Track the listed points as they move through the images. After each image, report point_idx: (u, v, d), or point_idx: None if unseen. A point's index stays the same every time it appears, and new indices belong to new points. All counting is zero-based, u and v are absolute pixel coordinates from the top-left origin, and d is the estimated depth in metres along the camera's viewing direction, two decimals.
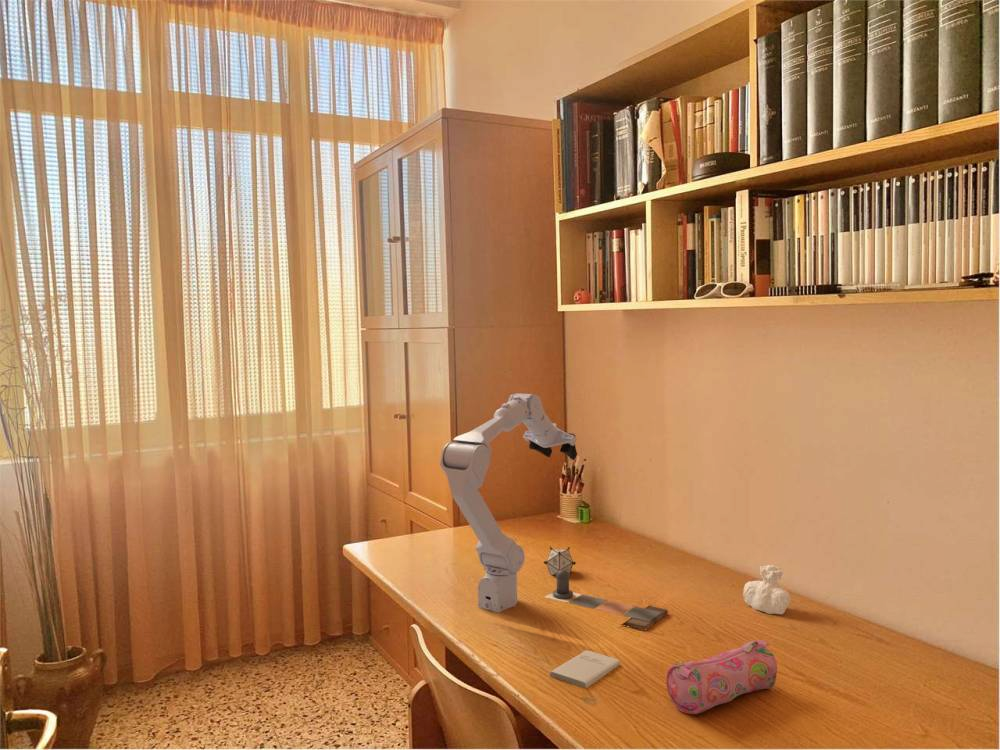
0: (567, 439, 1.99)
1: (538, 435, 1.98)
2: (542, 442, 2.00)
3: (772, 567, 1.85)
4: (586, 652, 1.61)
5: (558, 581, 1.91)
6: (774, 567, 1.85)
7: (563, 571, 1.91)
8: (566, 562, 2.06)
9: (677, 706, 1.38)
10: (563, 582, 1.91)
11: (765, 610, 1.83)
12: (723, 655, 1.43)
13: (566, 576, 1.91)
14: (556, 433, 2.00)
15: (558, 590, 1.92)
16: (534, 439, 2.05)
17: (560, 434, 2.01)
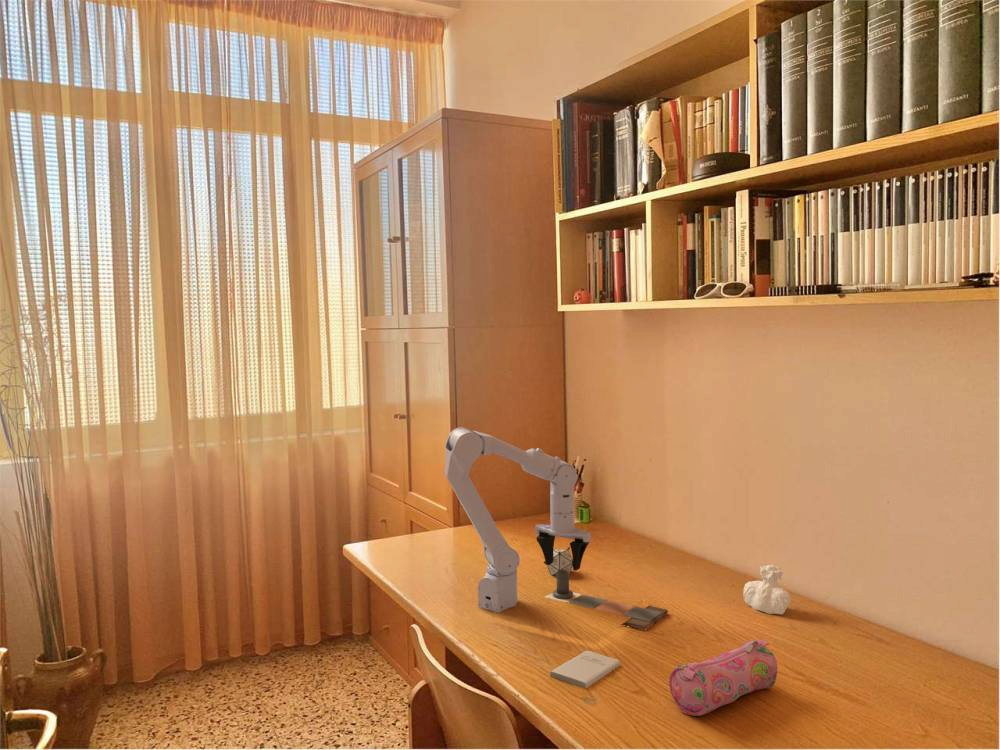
0: (582, 534, 1.88)
1: (558, 513, 1.88)
2: (557, 526, 1.89)
3: (772, 567, 1.85)
4: (586, 652, 1.60)
5: (558, 581, 1.91)
6: (774, 567, 1.85)
7: (563, 571, 1.91)
8: (566, 562, 2.06)
9: (681, 708, 1.38)
10: (563, 582, 1.91)
11: (765, 610, 1.83)
12: (725, 656, 1.42)
13: (566, 576, 1.91)
14: (573, 526, 1.90)
15: (558, 590, 1.92)
16: None
17: None
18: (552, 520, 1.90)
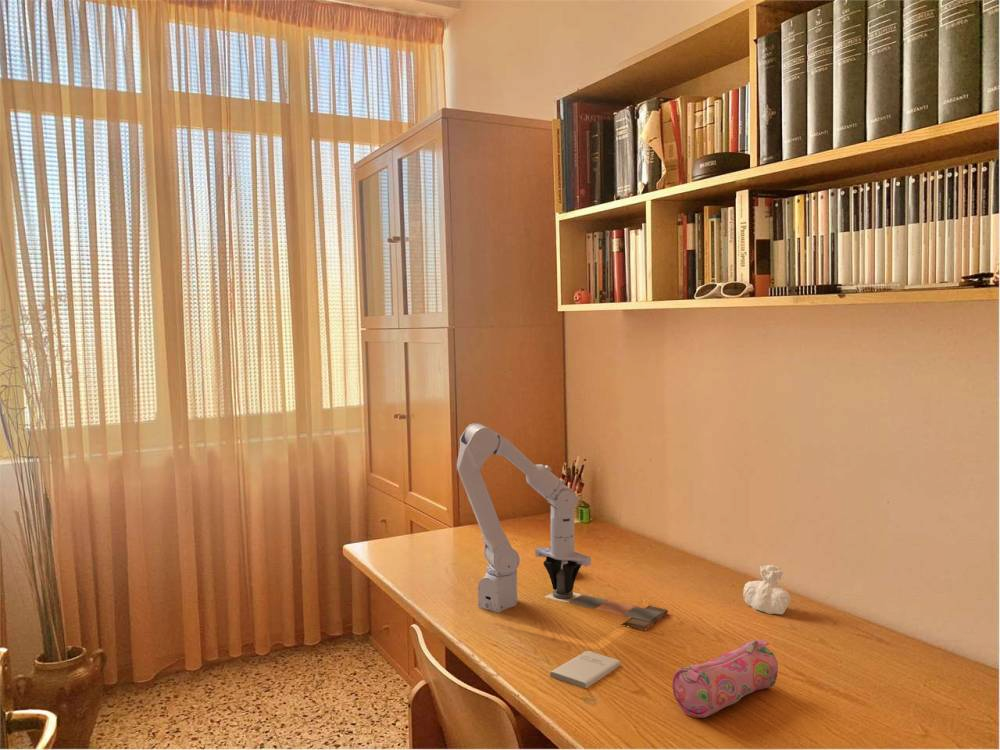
0: (582, 558, 1.88)
1: (558, 537, 1.89)
2: (557, 550, 1.89)
3: (772, 567, 1.85)
4: (587, 652, 1.60)
5: (558, 581, 1.91)
6: (774, 567, 1.85)
7: (563, 571, 1.91)
8: (566, 562, 2.06)
9: (684, 710, 1.37)
10: (563, 582, 1.91)
11: (765, 610, 1.83)
12: (726, 656, 1.42)
13: None
14: (573, 550, 1.91)
15: (558, 590, 1.92)
16: None
17: (576, 555, 1.91)
18: (552, 544, 1.90)
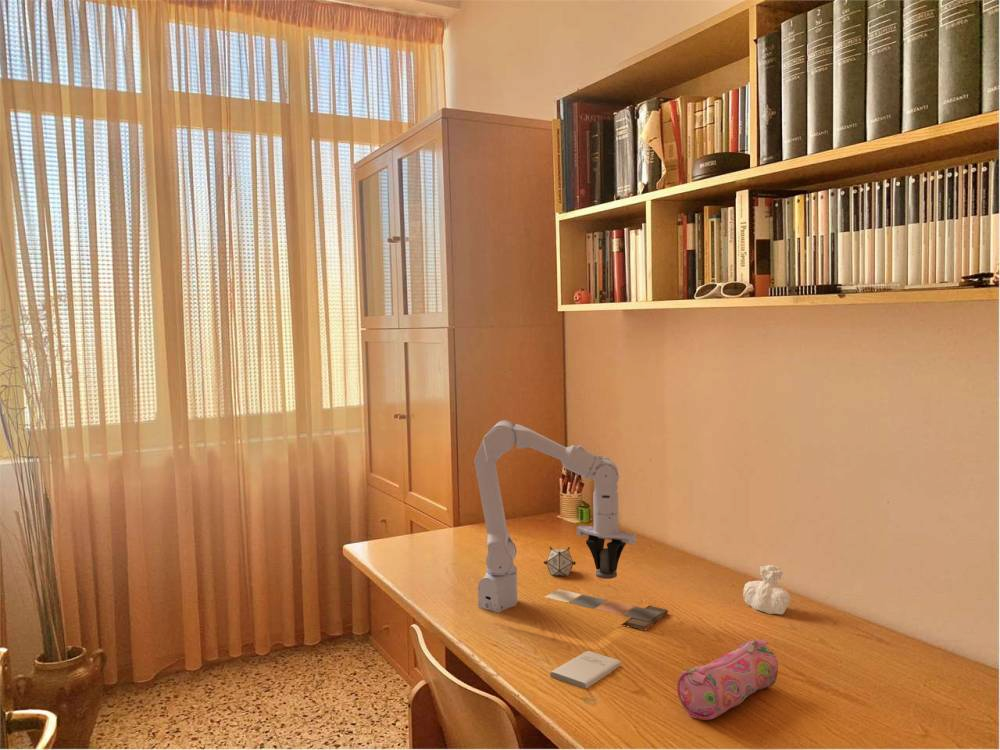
0: (628, 536, 1.81)
1: (602, 514, 1.82)
2: (601, 527, 1.82)
3: (772, 567, 1.85)
4: (587, 653, 1.60)
5: (601, 560, 1.84)
6: (774, 567, 1.85)
7: (607, 550, 1.84)
8: (566, 562, 2.06)
9: (690, 713, 1.36)
10: (607, 561, 1.84)
11: (765, 610, 1.83)
12: (729, 657, 1.42)
13: None
14: (617, 527, 1.83)
15: (602, 569, 1.84)
16: None
17: None
18: (596, 521, 1.83)
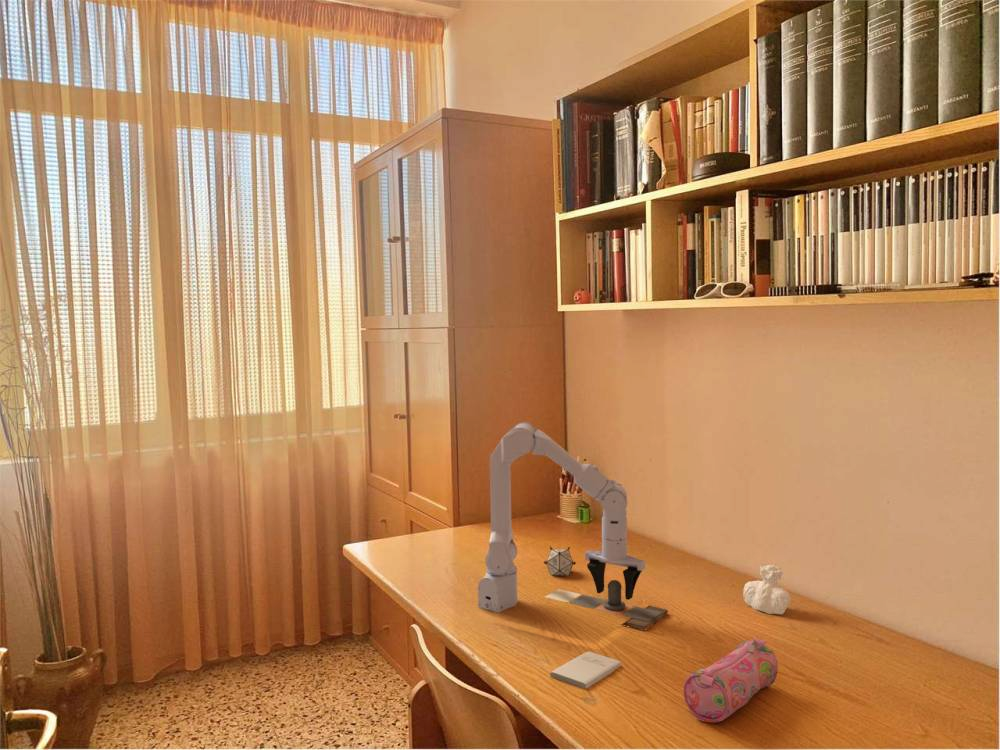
0: (636, 562, 1.80)
1: (611, 540, 1.81)
2: (609, 553, 1.81)
3: (772, 567, 1.85)
4: (587, 653, 1.60)
5: (610, 592, 1.83)
6: (774, 567, 1.85)
7: (615, 582, 1.83)
8: (566, 562, 2.06)
9: (697, 716, 1.35)
10: (615, 593, 1.83)
11: (765, 610, 1.83)
12: (731, 658, 1.41)
13: (619, 587, 1.83)
14: (626, 553, 1.82)
15: (610, 601, 1.83)
16: None
17: (628, 559, 1.83)
18: (604, 547, 1.82)
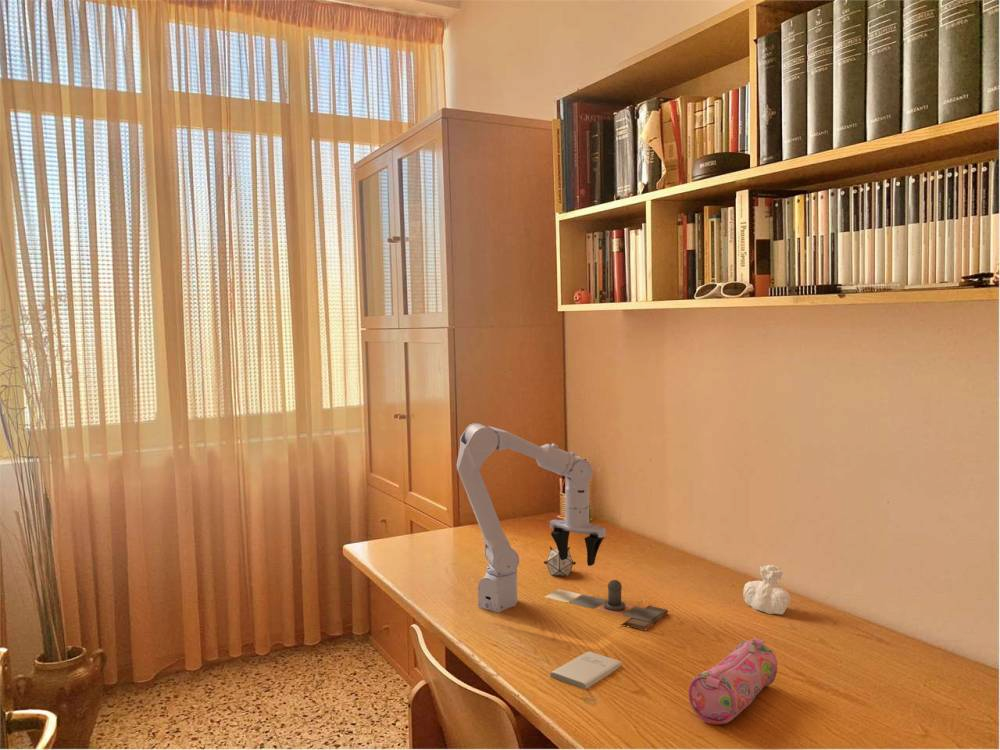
0: None
1: (573, 508, 1.89)
2: (571, 521, 1.89)
3: (772, 567, 1.85)
4: (588, 653, 1.60)
5: (610, 592, 1.83)
6: (774, 567, 1.85)
7: (615, 582, 1.83)
8: (566, 562, 2.06)
9: (703, 718, 1.34)
10: (615, 593, 1.83)
11: (765, 610, 1.83)
12: (733, 659, 1.41)
13: (619, 587, 1.83)
14: (588, 521, 1.91)
15: (610, 601, 1.83)
16: None
17: (590, 527, 1.91)
18: (567, 515, 1.90)
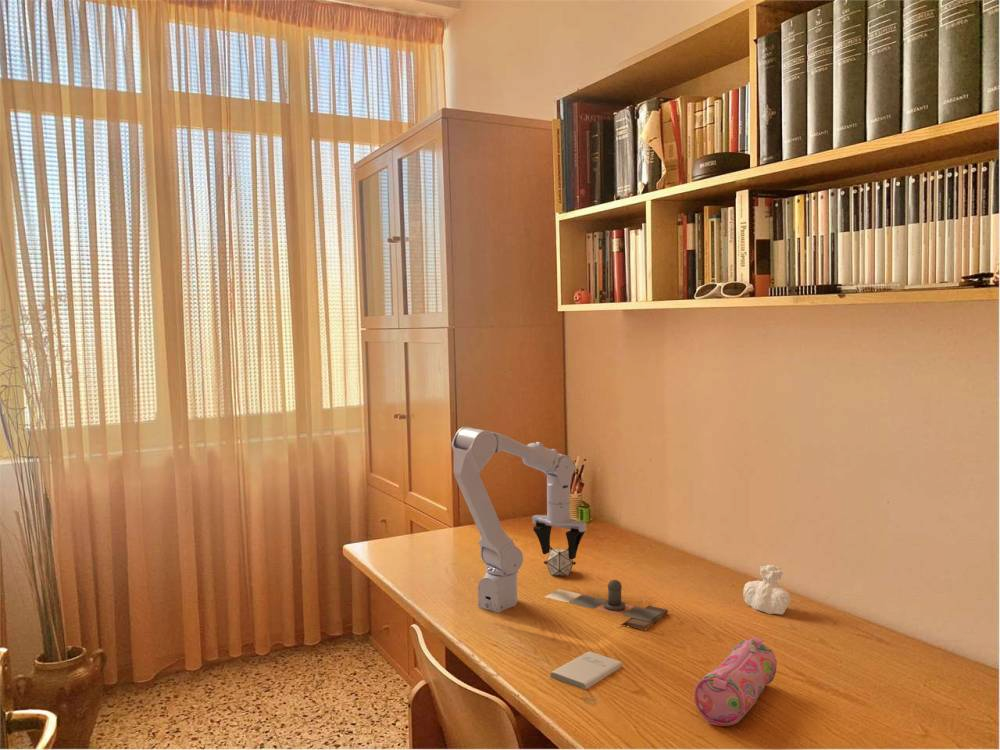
0: (578, 524, 1.93)
1: (554, 503, 1.94)
2: (553, 516, 1.94)
3: (772, 567, 1.85)
4: (588, 653, 1.60)
5: (610, 592, 1.83)
6: (774, 567, 1.85)
7: (615, 582, 1.83)
8: (566, 562, 2.06)
9: (709, 720, 1.33)
10: (615, 593, 1.83)
11: (765, 610, 1.83)
12: (736, 659, 1.41)
13: (619, 587, 1.83)
14: (569, 516, 1.95)
15: (610, 601, 1.83)
16: None
17: None
18: (549, 510, 1.95)
